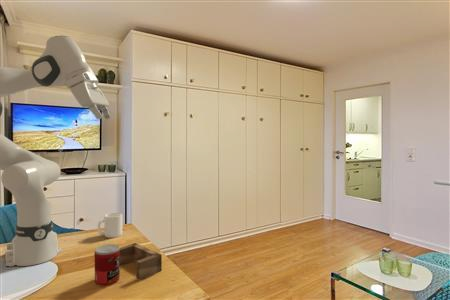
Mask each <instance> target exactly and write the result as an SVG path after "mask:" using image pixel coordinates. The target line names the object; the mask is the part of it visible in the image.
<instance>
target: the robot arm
mask: <svg viewBox="0 0 450 300" xmlns="http://www.w3.org/2000/svg"><path fill="white" fill-rule="evenodd" d="M45 44H46V45H45V49H44V51H43V52H42V54H41V55H40V56H39V58H36V60H34V62H33V63H32V65H31V69H24V68H17V67H6V66H0V98H3V97H7V96H10V95H13V94H17V93H20V92H24V91H28V90H31V89H35V88H39V87H46V88H47V87H48V88H55V87H57V88H59V87H66V88H67V89H69V90H70V92H71V93H72V95H73V96H74V98H75V100H76V101H77V103H78V104H79V105H80V106H81V107H82V108H87V109H89V110H90V112H91V113H92V115H94V118H96V120H101V119H103V118H104V119H105V120H110V119H111V118H112V116H111V114H110V112H109V109H108V107H109V106H110V103H109V101H108V99H107V97H106V96H105V95H104V93H103V91H102V90H101V89H100V88H99V87H98V86H97V85H98V84H99V79H98V78H97V76H96V74H95V73H94V71H93V69H92V67H91V66H90V65H89V64H88V61H87V60H86V57H85V55H84V53H83V52H82V49H80V46H79V45H78V44H77V42H76V41H75V40H74V39H73V38H72V37H70V36H67V35H55V36H51V37H50V38H48V39H47V40H46V43H45ZM100 111H101V112H100ZM2 113H3V104H2V102H1V101H0V117H1V116H2ZM0 171H3V172H2V173H1V177H0V180H1V184H2V185H3V187H4V188H5V189H6V190H8V191H9V193H11V194H12V197H13V199H14V202H15V204H16V205H15V207H16V218H17V224H16V226H15V236H14V237H13V239H12V240H11V243H7V244H6V250H7V251H5V253H4V259H5V260H4V262H5V261H6V264H5V267H6V266H9V267H15V266H14V265H17V266H16V267H26V266H27V267H28V266H34V265H40V264H43V263H46V262H48V261H51V260H52V259H54V258H56V256H57V255H58V254H60V253H61V252H62V251H63V250H62V248H61V247H58V245H59V244H58V235H57V234H58V233H57V232H55V231H53V229H54V223H53V220H52V202H51V200H50V199H48V198H47V196H46V194H45V190H44V187H46V186H49V185H51V184H53V183H55V182H56V181H57V180H58V179H59V178H60V176H61V167H60V165H59V164H58V163H57V162H56V161H53V160H50V159H47V158H45V157H43V156H40V155H38V154H36V153H34V152H33V151H30V150H27V149H25V148H24V147H21V146H20V145H18V144H17V143H15V142H13V140H11V139H9V138H8V137H6V136H5V135H3V134H2V133H0Z"/></svg>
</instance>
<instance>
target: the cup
mask: <svg viewBox="0 0 450 300" xmlns="http://www.w3.org/2000/svg"><path fill="white" fill-rule="evenodd" d="M103 218H104V219H101V220H99V221H98V224H97V232H98V234H99V235H102V236H105V238H108V239H109V238H111V239H113V238H119V237H120V236H122V234H123V213H121V212H110V213H106V214H105V215H104V217H103ZM102 223H104V227H103V228H104V229H103V230H104V231H102V230H101V225H102Z"/></svg>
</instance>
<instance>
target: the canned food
mask: <svg viewBox="0 0 450 300" xmlns="http://www.w3.org/2000/svg"><path fill="white" fill-rule="evenodd" d="M119 248H120V246H119V244H114V243H113V244H111V243H110V244H109V243H106V244H103V245H99V246H97V247H96V248H95V249H94V282H95V284H96V285H97V286H100V287H101V286H102V287H103V286H107V287H108V286H110V285H111V286H112V285H113V284H116V283H117V282H118V281H119V280H120V276H121V273H120V272H121V269H120V249H119Z"/></svg>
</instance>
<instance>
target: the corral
mask: <svg viewBox="0 0 450 300" xmlns="http://www.w3.org/2000/svg"><path fill="white" fill-rule="evenodd" d="M119 249H120V266H123V265H126V264H129V263H132V262H135V263H136V279H137V280H139V281H141V280H144V279H146V278H149V277H151V276H153V275H155V274H157V273H159V272H162V271H163V270H162V269H163V268H162V263H163V260H162V253H159V252H157V251H155V250H152V249H149V248H147V247H145V246H142V245H140V244H138V243H135V242H134V243H131V244H128V245H125V246H122V247H119Z"/></svg>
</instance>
